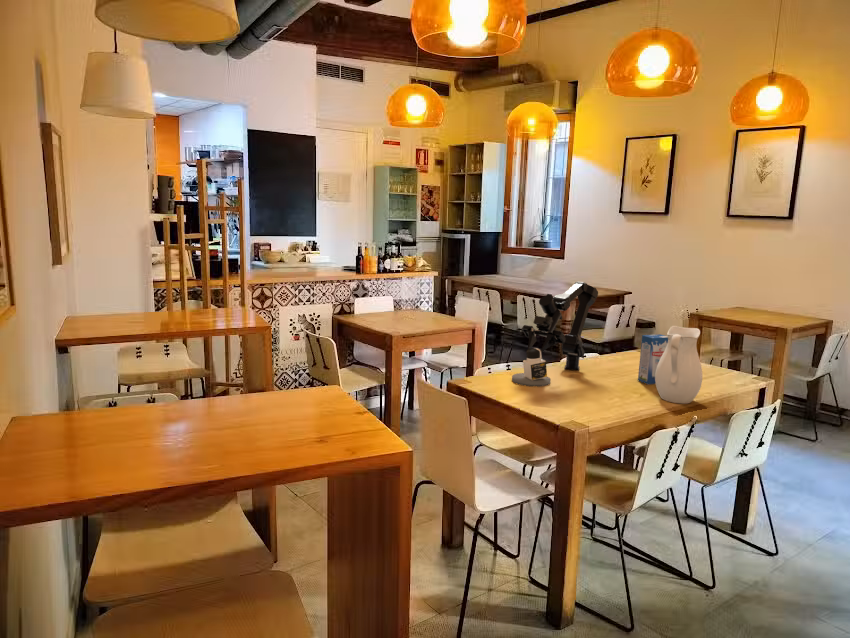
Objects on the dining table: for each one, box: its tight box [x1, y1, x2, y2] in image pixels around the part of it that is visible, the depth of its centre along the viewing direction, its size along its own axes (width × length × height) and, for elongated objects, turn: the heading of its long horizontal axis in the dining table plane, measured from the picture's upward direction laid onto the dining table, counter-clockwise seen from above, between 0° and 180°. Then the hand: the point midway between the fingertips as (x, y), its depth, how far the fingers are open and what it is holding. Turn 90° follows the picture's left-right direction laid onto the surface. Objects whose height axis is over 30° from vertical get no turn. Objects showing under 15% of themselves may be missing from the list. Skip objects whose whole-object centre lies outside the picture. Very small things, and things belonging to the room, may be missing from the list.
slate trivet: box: [511, 372, 551, 388], centre depth 264 cm, size 16×16×2 cm
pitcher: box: [655, 325, 703, 405], centre depth 240 cm, size 24×17×28 cm
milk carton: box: [637, 334, 668, 385], centre depth 269 cm, size 10×6×20 cm, turn 111°
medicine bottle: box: [522, 347, 548, 380], centre depth 262 cm, size 7×7×12 cm
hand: (535, 349), depth 262 cm, fingers open, 6 cm apart
